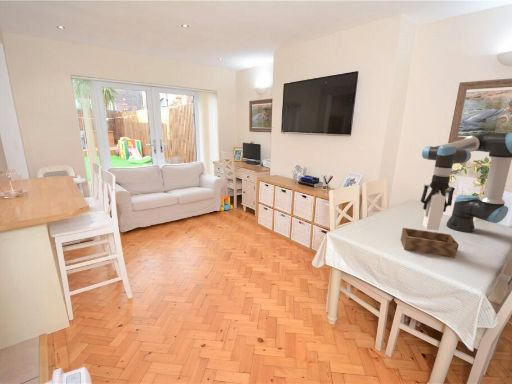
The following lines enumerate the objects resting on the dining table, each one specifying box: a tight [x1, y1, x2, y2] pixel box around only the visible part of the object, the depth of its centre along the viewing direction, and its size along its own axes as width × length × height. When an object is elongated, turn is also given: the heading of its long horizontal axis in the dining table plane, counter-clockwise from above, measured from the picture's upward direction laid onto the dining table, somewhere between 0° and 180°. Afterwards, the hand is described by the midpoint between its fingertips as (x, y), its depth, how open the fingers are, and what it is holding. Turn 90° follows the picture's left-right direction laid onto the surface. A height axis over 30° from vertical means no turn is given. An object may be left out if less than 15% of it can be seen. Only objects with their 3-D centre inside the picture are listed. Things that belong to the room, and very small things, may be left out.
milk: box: [422, 190, 447, 231], centre depth 139 cm, size 6×6×22 cm
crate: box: [400, 227, 460, 259], centre depth 144 cm, size 24×14×8 cm, turn 68°
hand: (432, 216), depth 140 cm, fingers closed on milk, 6 cm apart
